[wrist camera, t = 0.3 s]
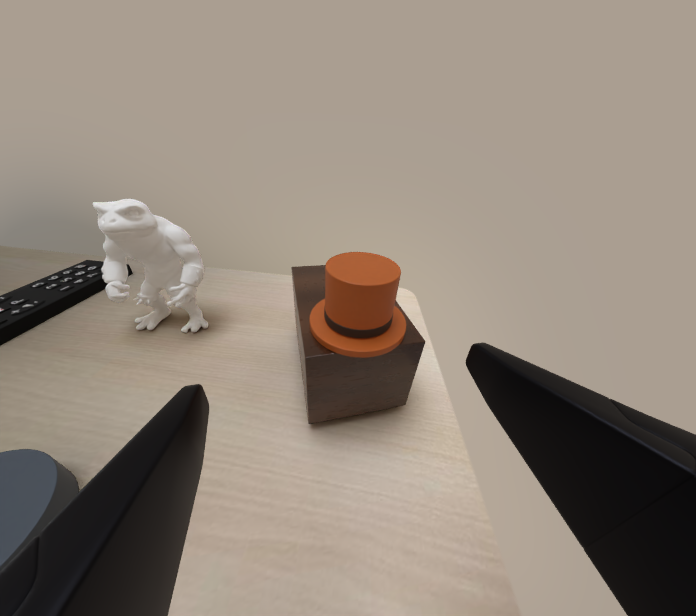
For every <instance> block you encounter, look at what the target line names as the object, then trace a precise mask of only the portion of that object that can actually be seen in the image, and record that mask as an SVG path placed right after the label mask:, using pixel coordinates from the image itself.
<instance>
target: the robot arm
mask: <svg viewBox="0 0 696 616" xmlns="http://www.w3.org/2000/svg"><path fill="white" fill-rule="evenodd" d="M466 366H467V368H468V370H469V372H470V374H471V376H472V377H473V379H474V381H475V383H476V385H477V387H478V388H479V390H480V392H481V394H482V396H483V398H484V399H485V401H486V403H487V405H488V406H489V408H490V409H491V411H492V412H493V414H494V415H495V417H496V418H497V420H498V421H499V423H500V424H501V426H502V427H503V429H504V430H505V432H506V433H507V435H508V436H509V438H510V439H511V441H512V442H513V444H514V445H515V447H516V448H517V450H518V451H519V453H520V454H521V456H522V457H523V459H524V460H525V462H526V463H527V465H528V466H529V468H530V469H531V471H532V472H533V474H534V475H535V477H536V478H537V480H538V481H539V483H540V484H541V486H542V487H543V489H544V490H545V492H546V493H547V495H548V496H549V498H550V499H551V501H552V502H553V504H554V505H555V507H556V508H557V510H558V511H559V513H560V514H561V516H562V517H563V519H564V520H565V522H566V523H567V525H568V526H569V528H570V529H571V531H572V532H573V534H574V535H575V537H576V538H577V540H578V541H579V543H580V544H581V546H582V547H583V548H584V551H585V552H586V554H587V555H588V557H589V558H590V560H591V561H592V563H593V564H594V566H595V567H596V569H597V570H598V572H599V573H600V575H601V576H602V578H603V579H604V581H605V582H606V584H607V585H608V587H609V588H610V590H611V591H612V593H613V594H614V596H615V597H616V599H617V600H618V602H619V603H620V605H621V606H622V608H623V609H624V611H625V612H626V614H627V615H628V616H696V435H695V434H692V433H690V432H688V431H685V430H682V429H680V428H678V427H675V426H672V425H670V424H668V423H665V422H663V421H661V420H658V419H656V418H653V417H651V416H648V415H646V414H644V413H642V412H639V411H637V410H635V409H632V408H630V407H628V406H625V405H623V404H621V403H619V402H616V401H614V400H612V399H609V398H607V397H605V396H603V395H601V394H598V393H596V392H594V391H592V390H589V389H587V388H585V387H583V386H580V385H578V384H576V383H574V382H571V381H569V380H567V379H565V378H563V377H560V376H558V375H556V374H554V373H551V372H549V371H547V370H545V369H543V368H540V367H538V366H536V365H533V364H531V363H529V362H527V361H524V360H522V359H520V358H518V357H515V356H513V355H511V354H509V353H507V352H504V351H502V350H500V349H497V348H495V347H493V346H491V345H489V344H486V343H476V344H473V345H472V346H471V349H470V351H469V354H468V356H467V359H466ZM208 416H209V403H208V400H207V397H206V395H205V392H204V390H203V387H202V386H201V385H200V384H196V385H190V386H185V387H183V388H182V389H181V390H180V391H179V392H178V393H177V394H176V395H175V396H174V397H173V398H172V399H171V400H170V401H169V402H168V403H167V404H166V405H165V406H164V407H163V408H162V409H161V410H160V411H159V412H158V413H157V414H156V415H155V416H154V417H153V418H152V419H151V420H150V421H149V422H148V423H147V424H146V425H145V426H144V427H143V428H142V429H141V430H140V431H139V432H138V433H137V434H136V435H135V436H134V437H133V438H132V439H131V440H130V441H129V442H128V443H127V444H126V445H125V446H124V447H123V448H122V449H121V450H120V451H119V452H118V453H117V454H116V455H115V456H114V457H113V458H112V460H111V461H110V462H109V463H108V464H107V465H106V466H105V467H104V468H103V469H102V470H101V471H100V472H99V473H98V474H97V475H96V476H95V477H94V478H93V479H92V480H91V481H90V482H89V483H88V484H87V485H86V486H85V487H84V488H83V489H82V490H81V491H80V492H79V493H78V494H77V495H76V496H75V497H74V498H73V499H72V500H71V501H70V502H69V503H68V504H67V505H66V506H65V507H64V508H63V509H62V510H61V511H60V512H59V513H58V514H57V515H56V516H55V517H54V518H53V519H52V520H51V521H50V522H49V523H48V524H47V525H46V526H45V527H44V528H43V529H42V530H41V531H40V533H39V536H36V537H34V538H33V539H32V540H31V541H30V542H29V543H28V544H27V545H26V546H25V547H24V548H23V549H22V550H21V551H20V552H19V553H18V554H17V555H16V556H15V557H14V558H13V559H12V560H11V561H10V562H9V563H8V564H7V565H6V566H5V567H4V568H3V569H2V570H1V571H0V616H168V612H169V607H170V603H171V599H172V594H173V590H174V586H175V582H176V577H177V573H178V569H179V564H180V560H181V556H182V552H183V547H184V543H185V539H186V534H187V530H188V526H189V522H190V517H191V513H192V509H193V505H194V500H195V496H196V492H197V487H198V483H199V479H200V475H201V470H202V465H203V458H204V450H205V441H206V433H207V424H208Z"/></svg>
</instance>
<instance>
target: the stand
mask: <svg viewBox="0 0 696 616" xmlns="http://www.w3.org/2000/svg"><path fill="white" fill-rule="evenodd" d="M78 493H79V488H78V483H77V480H76V478H75V476H74V475H73V474H72V473H71V472H70V471H69V470H68V469H66V468H65V467H64V466H62V465H61V464H60V463H59V462H57V461H56V460H55V459H53V458H52V457H51V456H49V455H48V454H46V453H44V452H41V451H38V450H31V449H19V450H11V451H6V452H1V453H0V571H1V570H2V569H3V568H4V567H5V566H6V565H7V564H8V563H9V562H10V561H11V560H12V559H13V558H14V557H15V556H16V555H17V554H18V553H19V552H20V551H21V550H22V549H23V548H24V547H25V546H26V545H27V544H28V543H29V542H30V541H31V540H32V539H33V538H34V537H36V536H39V533H40V531H41V530H42V529H43V528H44V527H45V526H46V525H47V524H48V523H49V522H50V521H51V520H52V519H53V518H54V517H55V516H56V515H57V514H58V513H59V512H60V511H61V510H62V509H63V508H64V507H65V506H66V505H67V504H68V503H69V502H70V501H71V500H72V499H73V498H74V497H75V496H76V495H77V494H78Z"/></svg>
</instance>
